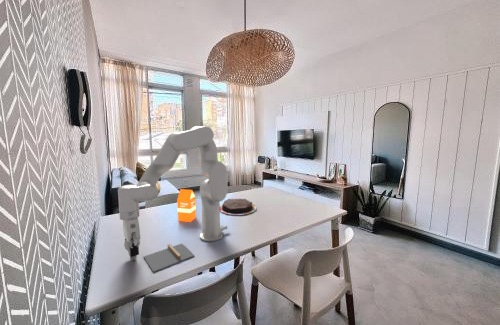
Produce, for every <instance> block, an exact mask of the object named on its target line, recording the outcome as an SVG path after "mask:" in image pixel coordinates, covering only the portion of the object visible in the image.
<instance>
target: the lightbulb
mask: <svg viewBox="0 0 500 325" xmlns="http://www.w3.org/2000/svg"><path fill="white" fill-rule="evenodd" d="M131 240H133V239H131ZM137 241H138V246H139V247H140V244H141V239H140V240H138V239H137ZM132 244H133V242H132ZM123 246H124V249H125V250H126V251H127V252H128V256H129V260H130V261H135V260H136V259H137V258H138V257H137V256H138V255H136V256H133V257H131V256H130V248H131V246H130V242H128V241H127V240H126V241H125V240H124V245H123Z"/></svg>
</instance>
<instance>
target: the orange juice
mask: <svg viewBox="0 0 500 325" xmlns="http://www.w3.org/2000/svg"><path fill="white" fill-rule="evenodd" d="M176 203H177V221H178V222H186V223H187V222H188V223H191V222H192V221H194V220H196V217H197V215H196V214H197V213H196V212H197V208H196V207H197V205H196V195H195V193H194V191H193V189H182V188H180V189H179V193H178V196H177V200H176Z"/></svg>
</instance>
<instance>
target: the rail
mask: <svg viewBox="0 0 500 325" xmlns="http://www.w3.org/2000/svg"><path fill="white" fill-rule="evenodd" d="M167 248H168V249H169V250H170V251H171V252H172V253H173V254H174V255H175V257H176V258H177V259H178V260H179V259H181V255H180V254H179V253H178V252H177V251H176V250H175V249H174V248H173V246H172V245H171V243H169V244H167Z"/></svg>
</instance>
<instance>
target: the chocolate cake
mask: <svg viewBox="0 0 500 325" xmlns="http://www.w3.org/2000/svg"><path fill="white" fill-rule="evenodd" d="M223 201H224V202H223V203H222V204H221V205H220V213H222V214H225V215H227V216H247V215H249V214H250V215H251V214H253V213H255V211H256V210H257V206H256V205H255V204H253V202H252V201H250V200H248V199H247V198H228V199H226V200H223Z"/></svg>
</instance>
